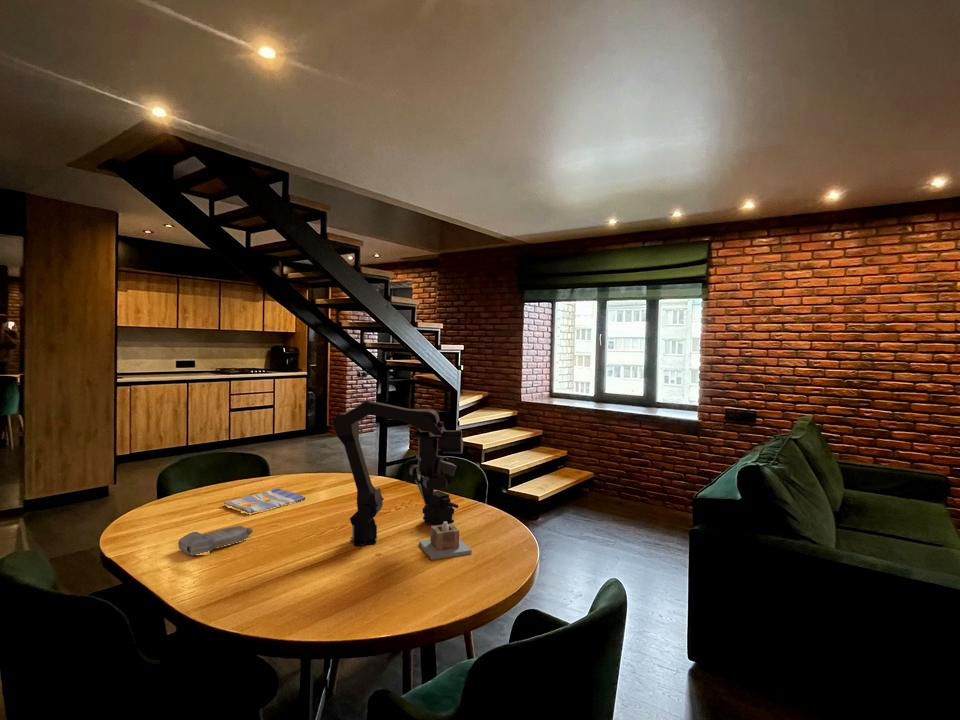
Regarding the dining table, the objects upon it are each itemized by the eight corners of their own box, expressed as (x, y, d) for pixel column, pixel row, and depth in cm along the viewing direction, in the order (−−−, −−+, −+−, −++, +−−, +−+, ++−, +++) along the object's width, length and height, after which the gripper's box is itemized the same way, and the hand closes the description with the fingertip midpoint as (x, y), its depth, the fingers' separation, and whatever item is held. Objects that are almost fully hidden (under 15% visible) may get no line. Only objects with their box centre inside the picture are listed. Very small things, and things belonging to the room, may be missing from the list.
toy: (448, 533, 161) (448, 502, 161) (420, 522, 171) (421, 492, 171) (465, 528, 166) (466, 498, 166) (438, 517, 176) (438, 488, 176)
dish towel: (220, 508, 184) (220, 500, 184) (279, 493, 203) (279, 486, 203) (247, 518, 174) (247, 509, 174) (306, 501, 193) (306, 494, 193)
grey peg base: (431, 559, 141) (431, 531, 141) (419, 544, 152) (419, 518, 152) (471, 553, 146) (472, 526, 146) (456, 538, 157) (457, 513, 157)
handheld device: (261, 539, 154) (261, 524, 154) (191, 561, 138) (191, 544, 138) (244, 532, 160) (244, 517, 160) (175, 552, 144) (175, 536, 144)
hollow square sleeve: (430, 542, 151) (430, 526, 150) (451, 539, 153) (451, 523, 153) (437, 551, 145) (437, 533, 144) (459, 547, 147) (459, 530, 147)
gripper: (464, 456, 146) (463, 511, 146) (443, 445, 163) (442, 493, 163) (427, 459, 141) (426, 515, 142) (409, 447, 159) (408, 496, 159)
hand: (427, 504), depth 152 cm, fingers closed
